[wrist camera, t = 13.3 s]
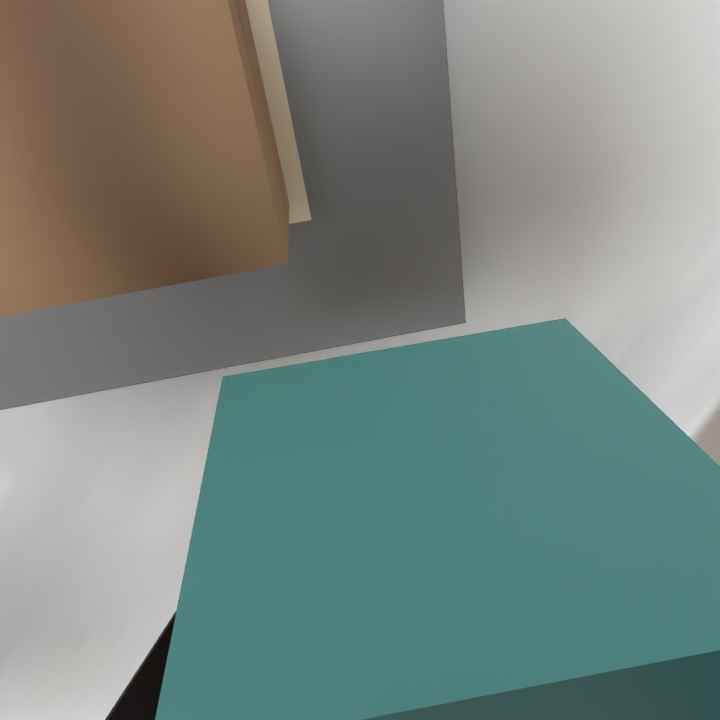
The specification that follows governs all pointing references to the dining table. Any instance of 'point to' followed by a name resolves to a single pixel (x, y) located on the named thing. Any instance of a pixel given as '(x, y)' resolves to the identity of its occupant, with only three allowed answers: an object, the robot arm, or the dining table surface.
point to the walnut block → (132, 149)
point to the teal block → (449, 543)
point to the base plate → (296, 218)
